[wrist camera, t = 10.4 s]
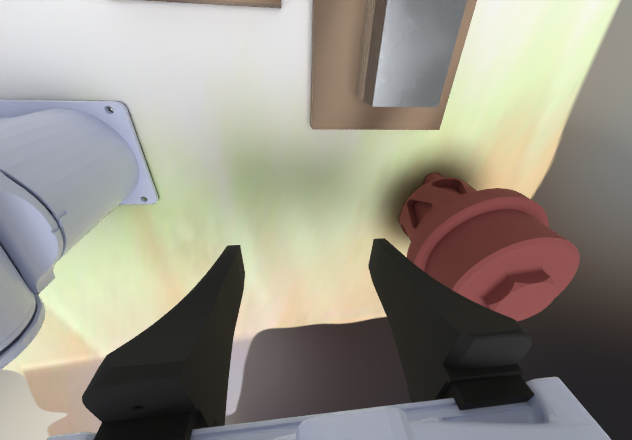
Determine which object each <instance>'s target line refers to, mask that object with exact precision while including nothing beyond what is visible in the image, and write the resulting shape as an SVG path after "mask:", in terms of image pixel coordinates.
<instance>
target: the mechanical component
mask: <svg viewBox="0 0 632 440" xmlns="http://www.w3.org/2000/svg"><path fill="white" fill-rule="evenodd" d="M399 222H400V224H401V227H402V229H403V231H404V232H405V234H406V235H407V236H408V237H409V238H410V240H411V244H410V246H409V249H408V253H407V258H408V259H409V260H410V261H411V262H412V263H414V264H415V265H416V266H417V267H419V268H420V269H421V270H423V271H424V272H425V273H427V274H428V275H429V276H431V277H432V278H434V279H435V280H437V281H438V282H440V283H441V284H443V285H445V286H446V287H448V288H449V289H451V290H453V291H455V292H456V293H458V294H460V295H462V296H464V297H466V298H467V299H469V300H471V301H473V302H475V303H478V304H480V305H482V306H484V307H486V308H488V309H490V310H493V311H495V312H498V313H500V314H503V315H505V316H508V317H510V318H512V319H515V320H516V321H520V320H523V319H526V318H529V317H531V316H533V315H535V314H537V313H539V312H540V311H541V310H543V309H544V308H546V307H547V306H548V305H549V304H550V303H551V302H552V300H553V299H554V298H555V297H557V296H558V295H559V294H560V293H561V292H562V291H563V290H564V289H565V288H566V286H567V285H568V284H569V283H570V281H571V280H572V278H573V277H574V275H575V273H576V271H577V268H578V266H579V260H580V257H579V252H578V250H577V248H576V247H575V246H574V245H573V244H572V243H571V242H569V241H568V240H566V239H565V238H563V237H562V236H560V235H559V234H557V233H556V232H554V231H553V230H551V229H550V228H549V227H548V218H547V214H546V213H545V211H544V210H543V208H542V207H541V206H540V205H539V204H537V203H536V202H534V201H532V200H531V199H529V198H527V197H526V196H524V195H523V194H521V193H518V192H516V191H513V190H509V189H500V188H495V189H485V190H480V191H476V190H475V189H474V188H472V187H471V186H469V185H468V184H467V183H465V182H464V181H462V180H460V179H457V178H451V177H447V178H444V177H443V176H441V175H440V174H439V173H431V174H429V175H428V176H427V177H426V178H425V180H424V183H423V185H422V186H421V187H419V188H418V189H417V190H416V191H415V192H413V193H412V194H411V195H410V197H409V198H408V199H407V201H406V202H405V204H404V206H403V208H402V210H401V214H400V216H399Z"/></svg>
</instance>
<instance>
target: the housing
mask: <svg viewBox="0 0 632 440" xmlns="http://www.w3.org/2000/svg"><path fill="white" fill-rule="evenodd" d="M466 3H467V0H366V2H365V11H364V21H363V30H362V40H361V49H360V59H359V68H358V78H357V87H356V97H357V98H359V99H361V100H362V101H364V102H366V103H367V104H369V105H370V106H372V107H438V105H439V102H440V98H441V94H442V91H443V87H444V83H445V80H446V76H447V72H448V69H449V65H450V61H451V58H452V54H453V50H454V47H455V43H456V40H457V36H458V32H459V29H460V25H461V21H462V18H463V14H464V10H465V7H466Z"/></svg>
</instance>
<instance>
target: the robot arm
mask: <svg viewBox="0 0 632 440" xmlns="http://www.w3.org/2000/svg"><path fill="white" fill-rule="evenodd" d="M108 106H110V107H111V108H112V109H113V113H112V112H110V111H109V110H108ZM143 197H146V198H147V200H145V199H144V198H143ZM158 199H159V198H158V195H157V192H156V189H155V186H154V183H153V181H152V178H151V175H150V172H149V169H148V167H147V164H146V161H145V158H144V155H143V152H142V150H141V147H140V144H139V141H138V138H137V135H136V133H135V130H134V127H133V124H132V121H131V119H130V116H129V113H128V110H127V108H126V106H125V105H124V104H123V103H121V102H117V101H62V100H0V370H1V369H2V368H4V367H5V366H6V365H7V364H9V363H10V362H11V361H12V360H13V359H15V358H16V357H17V356H18V355H19V354H20V353H21V352H22V351H23V350H24V349H25V348H26V347H27V346H28V345H29V344H30V342H31V341H32V340H33V339H34V338H35V336H36V335H37V333H38V332H39V330H40V328H41V326H42V324H43V321H44V319H45V306H44V303H43V302H42V300H41V298H40V297H39V295H38V294H39V293H40V292H41V291H42V290H43V289H44V288H45V287H46V286H47V285H48V284H49V283H50V282H51V281H52V280H53V279H54V278H55V276H54V273H53V267H54V265H55V264H56V262H57V261H58V260H59V259H60V258H61V257H63V256H64V255H65V254H66V253H67V252H68V251H69V250H70V249H71V248H72V247H73V246H74V245H75V244H76V243H78V242H79V241H80V240H81V239H82V238H83V237H84V236H85V235H86V234H87V233H88V232H89V231H90V230H91V229H92V228H94V227H95V226H96V225H97V224H98V223H99V222H100V221H101V220H102V219H103V218H104V217H105V216H106V215H107V214H109V213H110V212H111V211H112V210H113V209H114V208H115V207H116V206H117V205H138V204H155V203H156V202H157V201H158ZM369 270H370V274H371V278H372V281H373V284H374V287H375V289H376V291H377V294H378V296H379V299H380V301H381V303H382V306H383V308H384V310H385V313H386V315H387V317H388V320H389V323H390V325H391V328H392V332H393V335H394V338H395V342H396V345H397V349H398V352H399V355H400V359H401V362H402V367H403V371H404V375H405V378H406V382H407V386H408V391H409V395H410V400H411V403H407V404H400V405H391V406H382V407H375V408H366V409H358V410H350V411H341V412H333V413H325V414H317V415H308V416H300V417H292V418H284V419H276V420H267V421H259V422H251V423H243V424H234V425H226V426H224V425H225V412H226V400H227V389H228V378H229V369H230V360H231V351H232V343H233V336H234V331H235V326H236V322H237V317H238V313H239V308H240V304H241V299H242V295H243V289H244V278H245V271H244V265H243V259H242V254H241V248H240V245H230V246H227V247H226V248H225V250H224V251H223V253H222V254H221V255H220V257H219V258H218V259H217V261H216V262H215V263H214V265H213V266H212V267H211V269H210V270H209V271H208V272H207V274H206V275H205V276H204V277H203V278H202V279H201V281H200V282H199V283H198V284H197V285H196V286H195V287H194V288H193V289H192V290H191V291H190V293H189V294H188V295H187V296H186V297H184V298H183V299H182V300H181V301H180V302H179V303H178V304H177V305H176V306H175V307H174V308H173V309H171V310H170V311H169V312H168V313H167V314H165V315H164V316H163V317H162V318H161V319H159V320H158V321H157V322H155V323H154V324H153V325H152V326H150V327H149V328H147V329H146V330H145V331H143V332H142V333H140V334H139V335H138V336H136V337H135V338H133V339H132V340H130V341H129V342H127V343H125V344H124V345H122V346H121V347H119V348H118V349H116V350H115V351H113V352H111V353H110V354H108V355H107V356H106V357H105V359H104V360H103V362H102V363H101V365H100V366H99V368H98V370H97V372H96V373H95V375H94V377H93V378H92V380H91V382H90V384H89V385H88V387H87V389H86V391H85V392H84V394H83V396H82V402H83V404H84V405H85V406H86V408H87V409H88V410H89V411H90V412H92V413H93V414H94V415H95V416H96V417H97V418H98V419H99V420H100V421H102V424H101V426H100V428H99V430H98V432H97V434H96V433H92V432H80V433H72V434H63V435H55V436H51V437H49V438H48V439H47V440H611V439H610V438H609V437H608V435H607V434H606V433H605V432H604V431H603V429H601V427H600V426H599V425H598V424H597V422H596V421H595V420H594V419H593V418H592V417H591V415H590V414H589V413H588V412H587V411H586V409H585V408H584V407H583V406H582V405H581V404H580V402H579V401H578V400H577V399H576V398H575V397H574V396H573V394H572V393H571V392H570V391H569V389H568V388H567V387H566V386H565V385H564V384H563V382H562V381H561V380H560V379H559V378H558V377H549V378H541V379H534V380H530V381H528V382H525V381H524V380H523V378H522V377H521V376H520V375H521V374H523V371H522V370H521V368H520V367H519V365H518V364H517V363H518V362H519V361H520V360H521V358H522V357H523V356H524V355H525V354H526V353H527V352H528V350H529V349H530V347H531V343H532V340H531V338H530V336H529V335H528V334H527V333H526V332H525V331H524V330H523V328H522V327H521V326H520V325H519V324H518V323H517V321H516V320H515V319H512V318H510V317H508V316H505V315H503V314H500V313H498V312H495V311H493V310H490V309H488V308H486V307H484V306H482V305H480V304H478V303H475V302H473V301H471V300H469V299H467V298H466V297H464V296H462V295H460V294H458V293H456V292H455V291H453V290H451V289H449V288H448V287H446V286H445V285H443V284H441V283H440V282H438V281H437V280H435V279H434V278H432V277H431V276H429V275H428V274H427V273H425V272H424V271H423V270H421V269H420V268H419V267H417V266H416V265H415V264H414V263H412V262H411V261H410V260H409V259H408V258H406V257H405V256H404V255H403V254H402V253H401V252H400V251H398V250H397V249H396V248H395V247H394V246H393V245H392V244H390V243H389V242H388V241H387V240H386V239H385V238H384V239H374V241H373V246H372V251H371V256H370V261H369Z"/></svg>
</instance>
